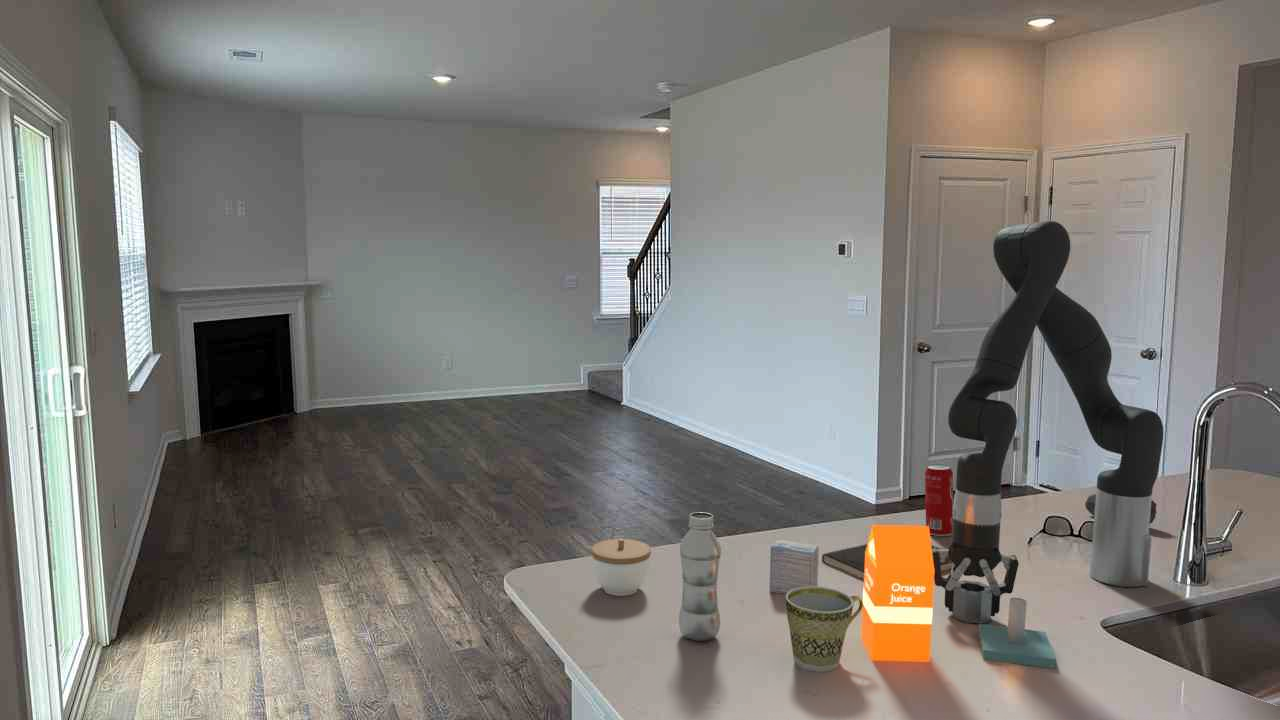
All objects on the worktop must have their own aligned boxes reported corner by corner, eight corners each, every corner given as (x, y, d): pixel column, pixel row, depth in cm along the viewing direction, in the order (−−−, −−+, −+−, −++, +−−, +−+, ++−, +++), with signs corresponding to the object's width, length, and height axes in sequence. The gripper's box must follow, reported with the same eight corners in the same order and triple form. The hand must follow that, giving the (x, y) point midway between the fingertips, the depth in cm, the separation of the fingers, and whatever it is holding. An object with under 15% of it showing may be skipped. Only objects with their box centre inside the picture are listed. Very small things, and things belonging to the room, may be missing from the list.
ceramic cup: (807, 683, 129) (810, 616, 127) (770, 653, 138) (772, 591, 136) (880, 667, 134) (884, 603, 133) (840, 640, 143) (843, 579, 142)
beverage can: (954, 538, 194) (958, 470, 192) (923, 536, 195) (927, 468, 193) (951, 529, 199) (954, 464, 198) (920, 527, 201) (924, 462, 199)
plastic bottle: (708, 649, 139) (711, 524, 136) (670, 639, 142) (672, 517, 140) (727, 634, 144) (730, 514, 142) (690, 624, 148) (692, 507, 145)
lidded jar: (614, 574, 170) (615, 526, 169) (661, 587, 164) (662, 537, 163) (578, 591, 161) (579, 541, 160) (627, 606, 155) (627, 553, 154)
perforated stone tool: (1079, 516, 211) (1081, 487, 210) (1090, 512, 214) (1092, 484, 213) (1146, 533, 199) (1148, 502, 198) (1156, 528, 202) (1159, 498, 202)
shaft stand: (1044, 640, 144) (1048, 592, 142) (1054, 668, 134) (1058, 617, 133) (978, 632, 146) (981, 585, 145) (983, 659, 137) (986, 608, 136)
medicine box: (817, 591, 163) (819, 545, 162) (811, 599, 159) (813, 552, 158) (775, 583, 166) (777, 538, 165) (768, 592, 162) (770, 545, 161)
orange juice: (860, 638, 144) (866, 517, 141) (916, 639, 143) (922, 518, 141) (871, 660, 136) (877, 533, 133) (930, 662, 136) (937, 534, 133)
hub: (988, 610, 154) (990, 583, 154) (991, 624, 149) (993, 596, 148) (951, 606, 156) (953, 579, 155) (953, 620, 150) (954, 591, 150)
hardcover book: (964, 568, 177) (965, 557, 177) (881, 590, 165) (882, 578, 165) (902, 545, 191) (903, 534, 190) (821, 563, 179) (822, 552, 178)
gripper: (1020, 514, 152) (1014, 609, 154) (930, 506, 156) (926, 599, 158) (1025, 527, 144) (1019, 626, 147) (931, 518, 149) (926, 615, 151)
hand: (971, 611), depth 152 cm, fingers closed on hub, 6 cm apart
